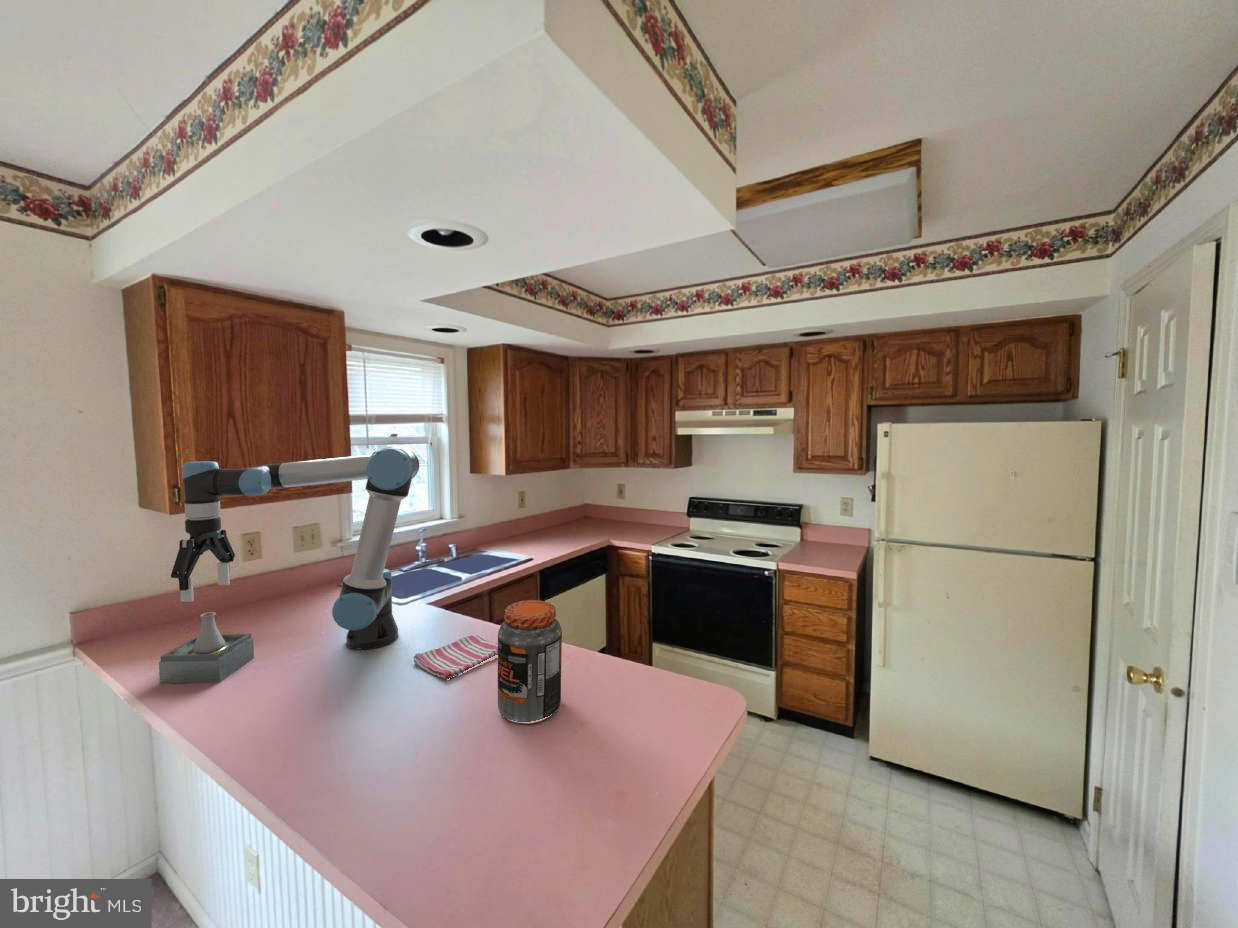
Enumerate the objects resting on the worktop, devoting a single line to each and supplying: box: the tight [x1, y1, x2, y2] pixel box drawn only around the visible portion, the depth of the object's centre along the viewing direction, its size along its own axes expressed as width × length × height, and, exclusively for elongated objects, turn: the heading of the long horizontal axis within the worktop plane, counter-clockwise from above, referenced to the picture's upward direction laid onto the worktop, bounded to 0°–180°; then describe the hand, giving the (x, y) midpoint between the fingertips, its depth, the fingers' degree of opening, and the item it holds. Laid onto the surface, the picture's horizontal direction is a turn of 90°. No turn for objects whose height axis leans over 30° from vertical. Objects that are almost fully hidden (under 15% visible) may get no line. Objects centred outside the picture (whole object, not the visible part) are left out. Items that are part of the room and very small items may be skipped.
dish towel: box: [413, 634, 498, 680], centre depth 148 cm, size 17×23×4 cm
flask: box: [192, 611, 227, 654], centre depth 137 cm, size 7×7×10 cm
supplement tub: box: [497, 599, 563, 722], centre depth 122 cm, size 16×16×26 cm
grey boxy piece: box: [158, 632, 255, 685], centre depth 137 cm, size 15×14×8 cm
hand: (206, 592), depth 136 cm, fingers open, 13 cm apart
